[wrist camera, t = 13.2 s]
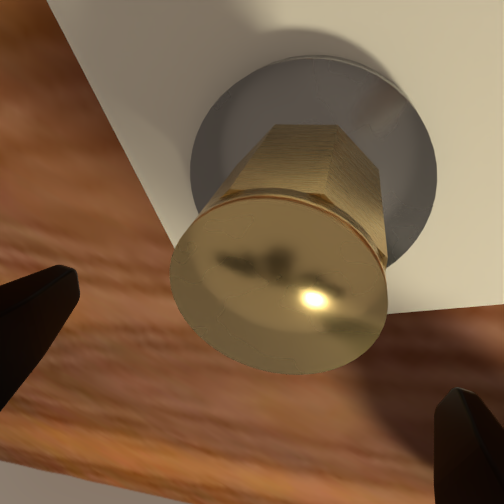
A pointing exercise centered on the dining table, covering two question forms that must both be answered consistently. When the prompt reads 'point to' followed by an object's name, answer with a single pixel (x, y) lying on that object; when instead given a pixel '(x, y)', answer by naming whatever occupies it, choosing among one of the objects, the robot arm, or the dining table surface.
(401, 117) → the metal disc with knob
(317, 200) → the brown and gold cylinder
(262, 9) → the board
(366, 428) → the dining table surface
